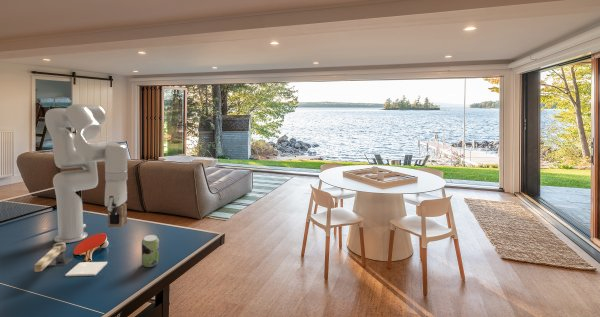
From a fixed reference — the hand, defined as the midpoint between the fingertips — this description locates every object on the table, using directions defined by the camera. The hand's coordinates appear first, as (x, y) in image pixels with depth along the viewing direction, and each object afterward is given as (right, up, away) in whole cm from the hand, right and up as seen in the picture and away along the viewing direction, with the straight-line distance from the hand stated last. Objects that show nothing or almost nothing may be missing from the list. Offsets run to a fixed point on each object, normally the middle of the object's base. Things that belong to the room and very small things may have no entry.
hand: (117, 221), depth 128 cm
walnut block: (0, -2, 0) cm, 2 cm away
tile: (-8, -17, -5) cm, 20 cm away
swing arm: (-20, -16, -8) cm, 27 cm away
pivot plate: (-22, -16, 0) cm, 28 cm away
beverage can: (+13, -18, 0) cm, 22 cm away
